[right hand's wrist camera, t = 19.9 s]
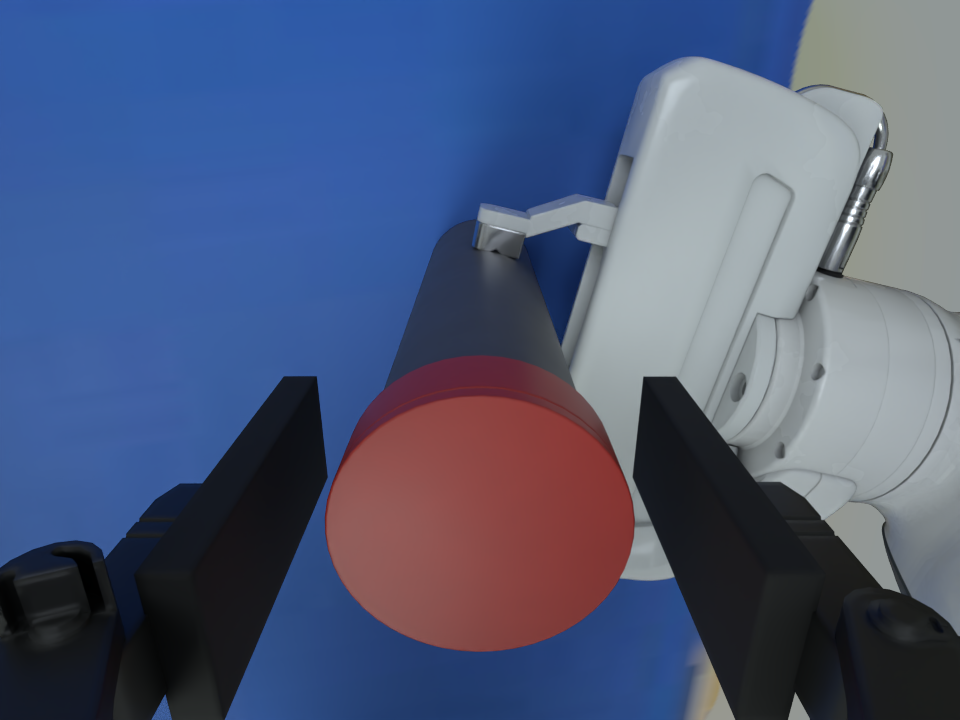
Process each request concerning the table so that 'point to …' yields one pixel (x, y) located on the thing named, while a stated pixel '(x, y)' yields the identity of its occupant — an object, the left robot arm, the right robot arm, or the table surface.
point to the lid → (479, 506)
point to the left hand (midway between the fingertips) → (457, 305)
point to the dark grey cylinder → (478, 310)
